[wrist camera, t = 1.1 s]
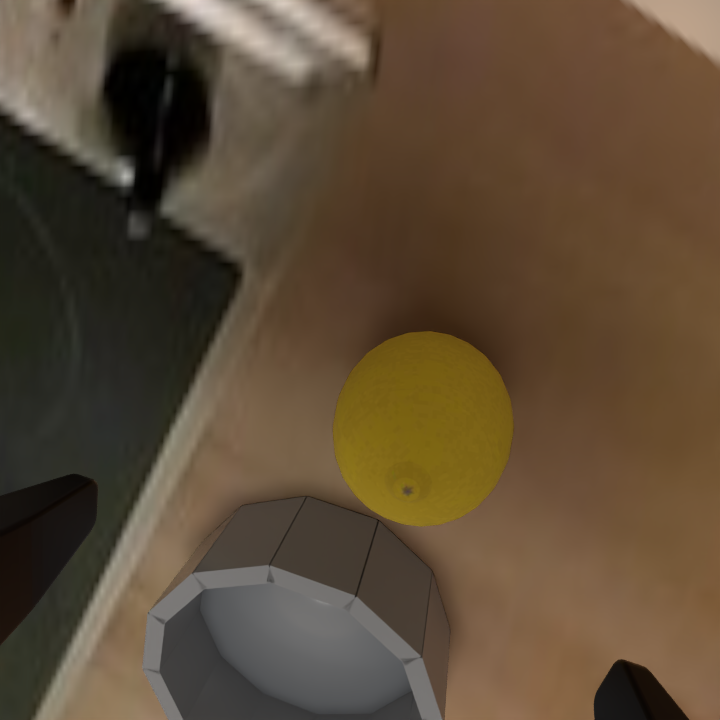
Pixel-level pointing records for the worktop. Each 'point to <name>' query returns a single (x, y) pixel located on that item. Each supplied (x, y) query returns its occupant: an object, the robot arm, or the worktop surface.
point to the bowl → (299, 622)
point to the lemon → (423, 428)
